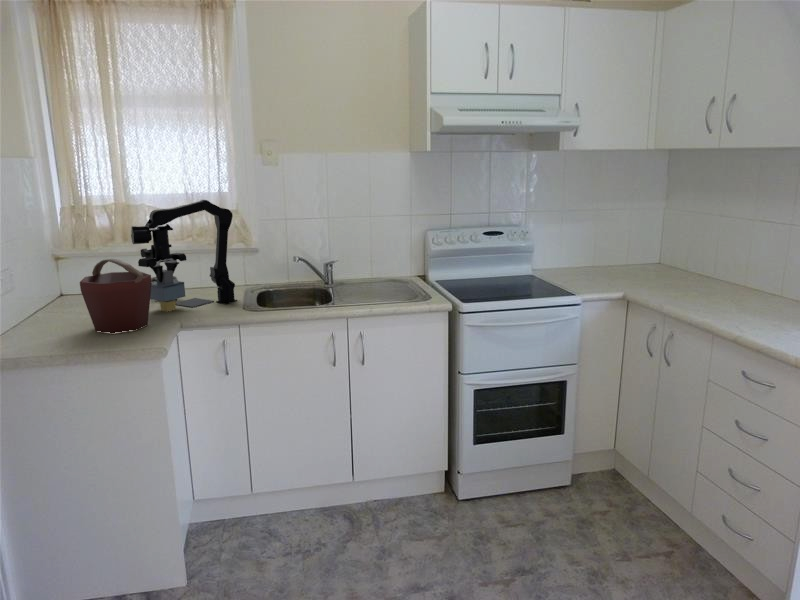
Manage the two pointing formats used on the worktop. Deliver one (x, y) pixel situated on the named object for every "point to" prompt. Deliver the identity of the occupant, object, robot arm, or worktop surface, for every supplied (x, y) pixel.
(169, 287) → the cover
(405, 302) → the worktop surface
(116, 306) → the bucket
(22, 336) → the worktop surface
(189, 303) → the mat
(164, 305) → the block
